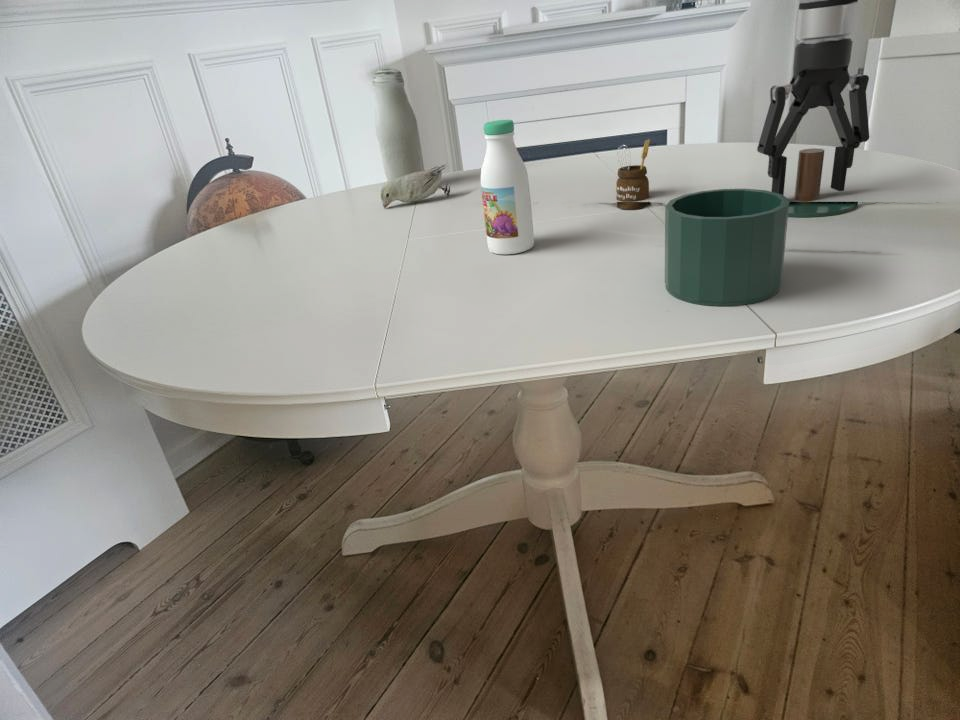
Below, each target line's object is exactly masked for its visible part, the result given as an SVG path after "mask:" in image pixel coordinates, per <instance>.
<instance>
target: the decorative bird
mask: <svg viewBox="0 0 960 720" xmlns="http://www.w3.org/2000/svg"><path fill="white" fill-rule="evenodd" d="M447 164H448V163H447V162H445V163H444V164H443V163H442V164H440V165H435V166H433V167H430V168H428V169H424V171H420V172H415V173H411V174H408V175H405V176H402V177H400V178H394V179H391V180H386V181H385V182H384V184H383V185H382V187H381V190H380V199H381V204H382V207H383V209H386V208H387V207H389V205H390V204H392V203H393V202H396V201H399V202H401V203H415V202H419V201H422V200H424V199H427V198H429V197H430V196H432V195H434V194H435V193H436V192H437V191H438V189H441V190H442V191H444V192H443V193H444V194H446V197H447V198H449V197H450V193H451V186H452V184H450V185H449V186H448V184H449V182H447V183H446V184H445V185H446V186H445V187H442V186H441V185H440V184H441V180H442V175H443V172H442V171H443V170H444V169H447V167H448V165H447Z"/></svg>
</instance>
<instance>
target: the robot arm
mask: <svg viewBox="0 0 960 720" xmlns="http://www.w3.org/2000/svg"><path fill="white" fill-rule="evenodd" d="M858 2H859V0H799V5H798V12H797V24H796V34H795V40H797V41H799V43H797V44H796V45H795V47H794V54H793V63H792V65H793V66H792V71H793V72H792V77H791V79H790V81H789V83H787V84H783V85H772V86H771V88H770V90H769V94H770V95H769V97H770V104H769V106H768V110H767V114H766V117H765V120H764V124H763V127H762V129H761V134H760V137H759V140H758V144H757V148H756V150H757V152H758V153H760V154H761V155H764V156H768V165H767V167H768V168H767V175H768V177H769V178H771V180H772V181H771V191H770V192H774V193H778V194H782V195H783V196H785V195H784V194H785V185H786V184H785V183H786V171H787V161H788V157H787V156H785V155H783V154H784V152H785V151H786V148H787V147H788V145H789V143H790V141H791V139H792V138H793V136H794V134H795V132H796V131H797V129H798V127H799V125H800V123H801V121H802V119H803V117H804V116H805V115H807V114H808V112H809V110H811V109H816V108H819V107H824V108H826V110H827V112H828V113H829V116H830V119H831V122H832V124H833V127H834V129H835V132H836V134H837V137H838V139H839V142H840V146H835V147H834V148H835V149H834V150H835V151H834V157H833V165H832V172H831V182H830V189H832V190H835V191H838V192H844V191H845V186H846V179H847V172H848V169H850V168H852V166H853V163H854V156H855V154H854V153H855V149H858V148H859V147H860V145H861V143H866V142H868V141H869V140H870V127H869V126H870V125H869V115H868V114H869V113H868V104H867V101H868V100H867V88H868V86H869V85H868V84H869V80H870V77H869V75H868V74H858V73H857V74H854V75H850V73H849V66H850V63H851V56H852V50H853V49H852V48H853V43H854V42H853V40H852V38H849V37H850V35H853V33H854V32H855V28H856V27H855V26H856V19H857V11H858ZM846 87H847V90H848V97H849V98H848V99H849V109H850V110H849V111H850V119H849V116H848V114H847V111H846V108H845V105H846V104H845V102H844V99H843V96H842V93H843V91H844V90H845V88H846ZM790 93H791V94H792V96H793V97H794V99H793V100H792V102H791V104H790V106H789V109H788V113H787V115H786V117H785V118H784V120H783V122H782V124H781V126H780V123H781V120H782V116H783V113H784V110H785V107H786V100H788V98H789V97H790ZM850 120H851V121H850Z"/></svg>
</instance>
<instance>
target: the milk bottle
mask: <svg viewBox="0 0 960 720" xmlns="http://www.w3.org/2000/svg"><path fill="white" fill-rule="evenodd" d="M483 134H484V139H486V150H485V154H484V155H485V156H484V159H483V163H482V166H481V171H480V192H481V199H482V209H483V218H484V226H485V235H486V242H487V248H488V250H489V252H491V253H492V254H496V255H514V254H519V253H523V252H527V251H529V250H531V249H532V248H533V247H534V244H535V234H534V222H533V213H532V212H533V211H532V200H531V199H532V198H531V190H530V182H529V181H530V180H529V175H528V171H527V167H526V165H525V162H524V160H523V159H522V157H521V155H520V153H519V151H518V149H517V146H516V144H515V139H514V136H515V124H514V121H513V120H512V119H497V120H492V121H488V122H485V123H483Z"/></svg>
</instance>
